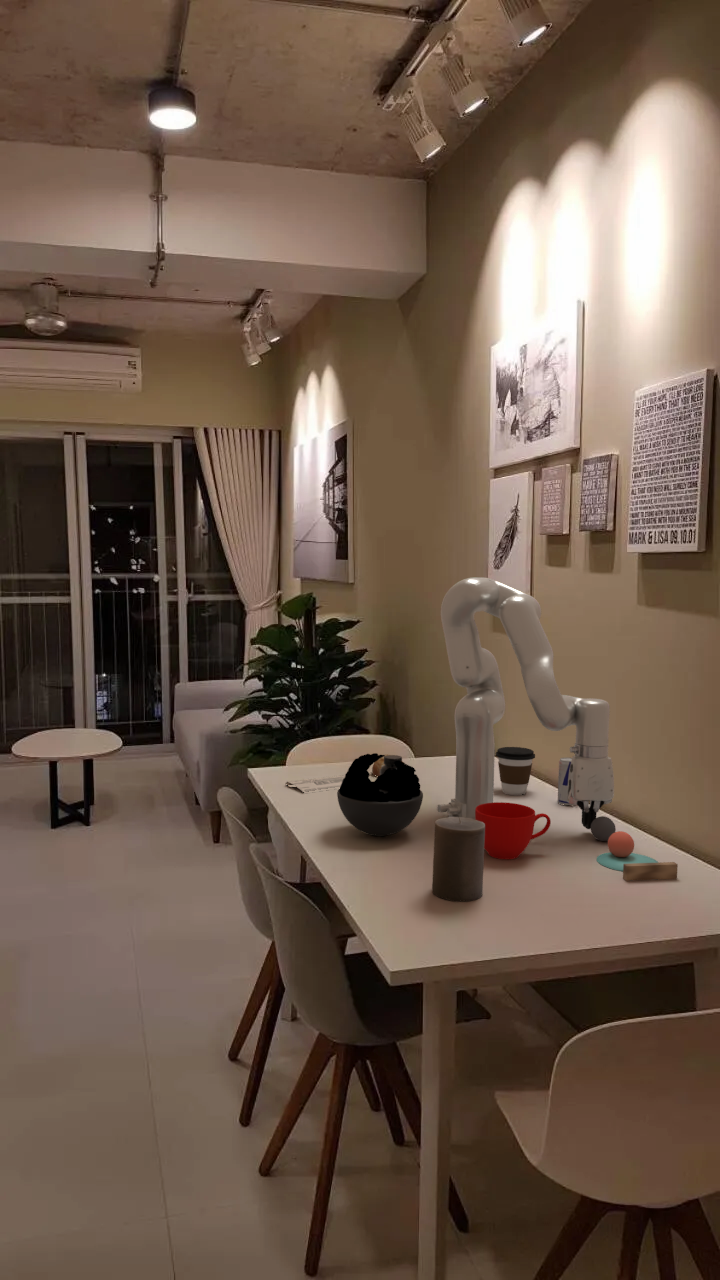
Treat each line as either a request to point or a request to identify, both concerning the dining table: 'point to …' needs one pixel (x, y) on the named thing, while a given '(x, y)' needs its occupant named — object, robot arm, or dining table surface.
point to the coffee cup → (515, 769)
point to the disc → (622, 860)
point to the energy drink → (563, 780)
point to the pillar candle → (458, 859)
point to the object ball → (621, 844)
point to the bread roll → (378, 766)
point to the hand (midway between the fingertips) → (588, 827)
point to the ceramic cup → (508, 828)
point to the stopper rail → (650, 871)
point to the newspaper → (317, 783)
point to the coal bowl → (379, 797)
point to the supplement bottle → (390, 762)
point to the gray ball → (602, 828)
